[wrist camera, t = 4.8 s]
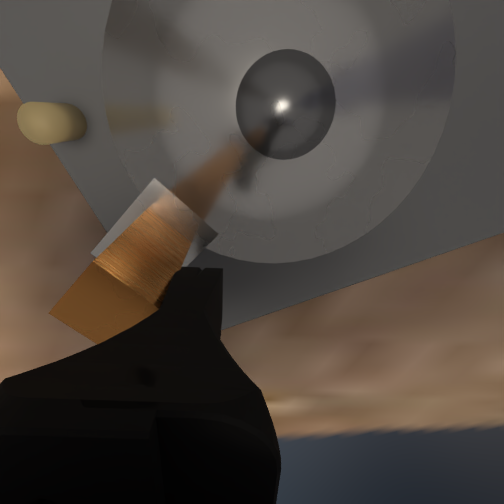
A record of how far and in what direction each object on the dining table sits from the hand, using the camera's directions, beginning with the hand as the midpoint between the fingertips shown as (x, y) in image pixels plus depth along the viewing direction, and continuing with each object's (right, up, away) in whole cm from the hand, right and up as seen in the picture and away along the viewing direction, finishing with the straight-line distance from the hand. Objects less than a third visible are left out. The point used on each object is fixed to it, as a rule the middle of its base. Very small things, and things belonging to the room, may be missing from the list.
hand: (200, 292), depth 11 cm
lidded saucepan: (+2, +5, 0) cm, 6 cm away
